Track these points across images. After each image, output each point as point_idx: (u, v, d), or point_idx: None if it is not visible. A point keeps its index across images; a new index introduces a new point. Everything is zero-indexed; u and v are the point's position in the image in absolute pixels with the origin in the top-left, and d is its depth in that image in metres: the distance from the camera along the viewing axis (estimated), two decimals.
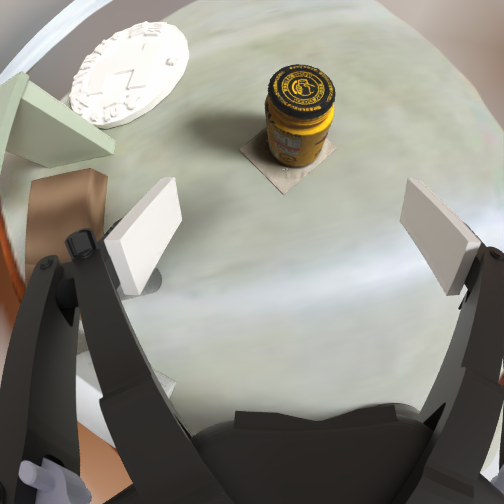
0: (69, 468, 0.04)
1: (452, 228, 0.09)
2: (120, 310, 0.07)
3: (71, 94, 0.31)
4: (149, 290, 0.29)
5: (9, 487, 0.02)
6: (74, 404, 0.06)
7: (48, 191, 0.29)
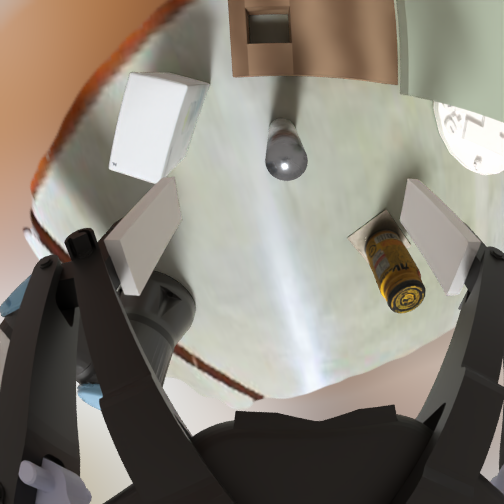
0: (69, 468, 0.04)
1: (452, 228, 0.09)
2: (120, 310, 0.07)
3: None
4: None
5: (9, 487, 0.02)
6: (74, 404, 0.06)
7: (378, 20, 0.20)
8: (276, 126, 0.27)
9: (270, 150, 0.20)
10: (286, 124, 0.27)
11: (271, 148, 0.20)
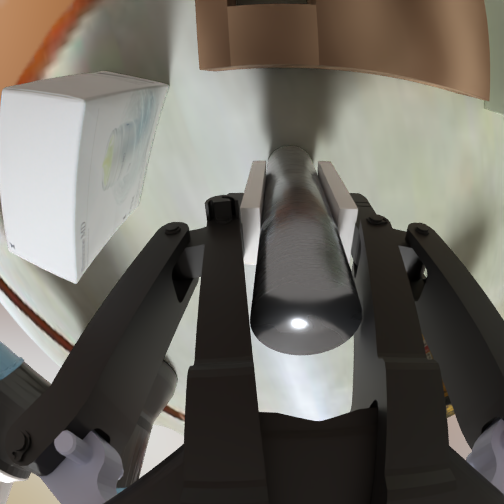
0: (114, 444, 0.05)
1: (333, 199, 0.12)
2: (244, 286, 0.07)
3: None
4: None
5: (37, 446, 0.03)
6: (151, 382, 0.07)
7: None
8: (281, 174, 0.14)
9: (264, 301, 0.07)
10: (301, 168, 0.14)
11: (267, 296, 0.07)
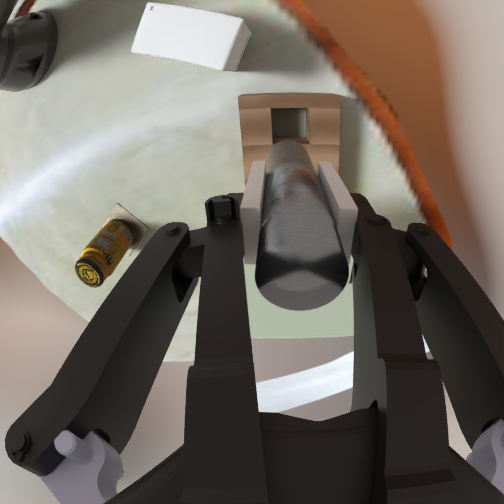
0: (114, 444, 0.05)
1: (333, 199, 0.12)
2: (244, 286, 0.07)
3: None
4: None
5: (37, 446, 0.03)
6: (151, 383, 0.07)
7: None
8: (280, 163, 0.15)
9: (266, 256, 0.09)
10: (298, 158, 0.16)
11: (268, 251, 0.09)
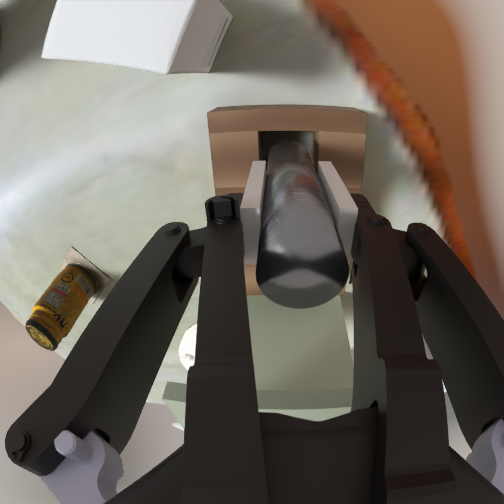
0: (114, 444, 0.05)
1: (333, 199, 0.12)
2: (244, 286, 0.07)
3: None
4: None
5: (37, 445, 0.03)
6: (151, 382, 0.07)
7: None
8: (280, 162, 0.15)
9: (267, 254, 0.09)
10: (298, 157, 0.16)
11: (269, 250, 0.09)
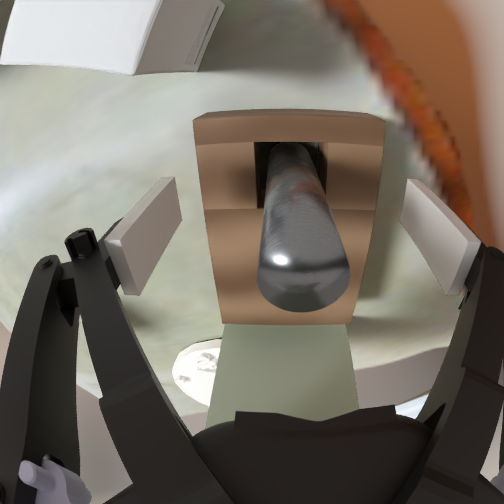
0: (69, 468, 0.04)
1: (452, 228, 0.09)
2: (120, 310, 0.07)
3: None
4: None
5: (9, 488, 0.02)
6: (74, 404, 0.06)
7: None
8: (281, 164, 0.15)
9: (268, 258, 0.09)
10: (299, 159, 0.16)
11: (270, 254, 0.09)
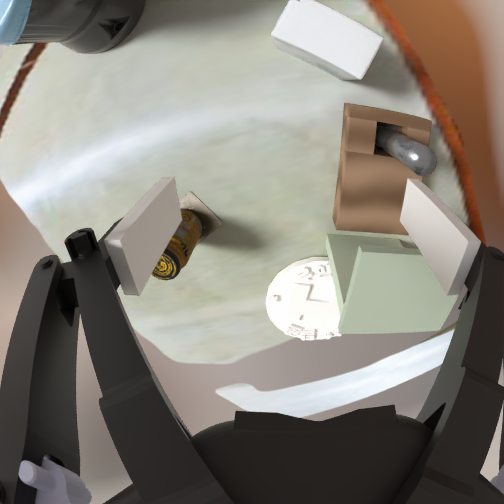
0: (69, 468, 0.04)
1: (452, 228, 0.09)
2: (120, 310, 0.07)
3: None
4: (380, 147, 0.34)
5: (9, 487, 0.02)
6: (74, 403, 0.06)
7: (386, 220, 0.38)
8: (392, 132, 0.30)
9: (415, 151, 0.23)
10: None
11: (416, 150, 0.23)
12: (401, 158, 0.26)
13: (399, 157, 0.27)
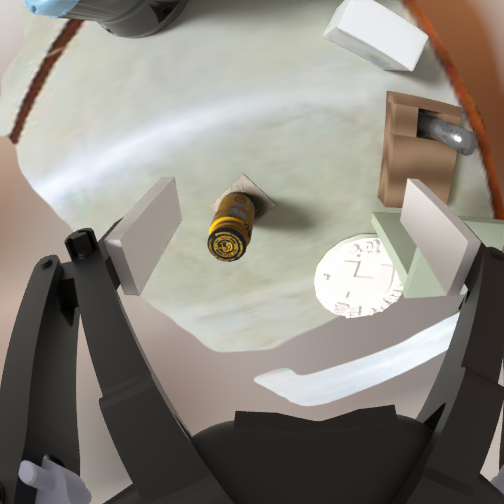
0: (69, 468, 0.04)
1: (452, 228, 0.09)
2: (120, 310, 0.07)
3: None
4: (420, 131, 0.34)
5: (9, 488, 0.02)
6: (74, 404, 0.06)
7: None
8: (433, 118, 0.30)
9: (461, 134, 0.23)
10: None
11: (461, 133, 0.23)
12: (446, 140, 0.27)
13: (444, 139, 0.27)
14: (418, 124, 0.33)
